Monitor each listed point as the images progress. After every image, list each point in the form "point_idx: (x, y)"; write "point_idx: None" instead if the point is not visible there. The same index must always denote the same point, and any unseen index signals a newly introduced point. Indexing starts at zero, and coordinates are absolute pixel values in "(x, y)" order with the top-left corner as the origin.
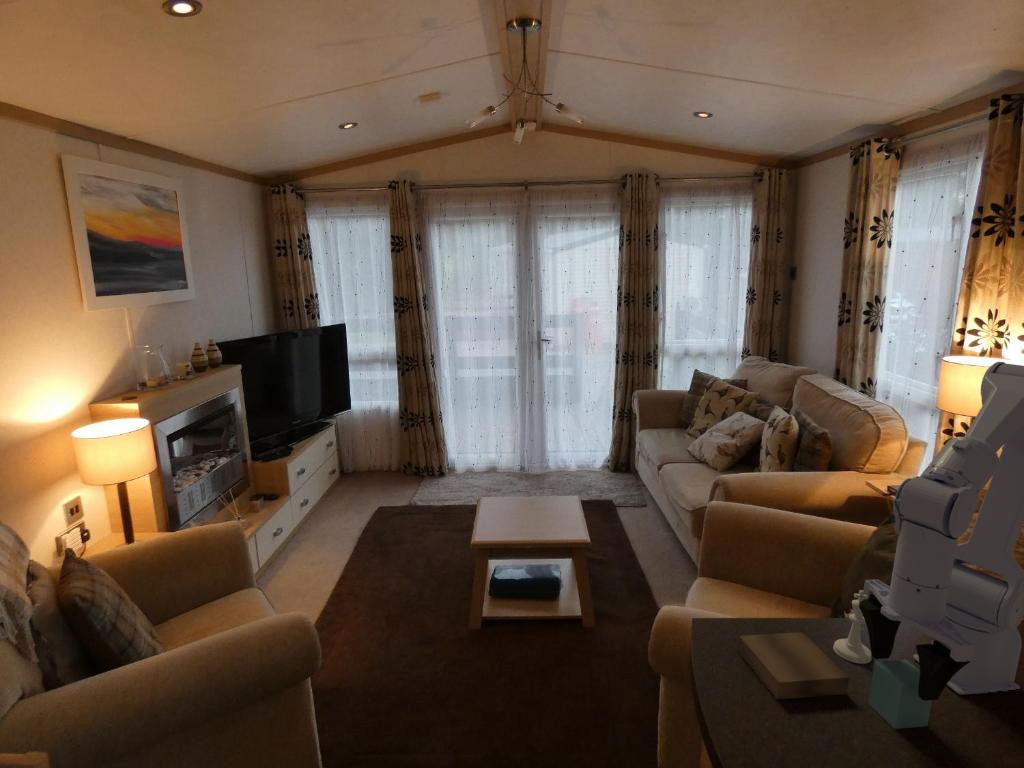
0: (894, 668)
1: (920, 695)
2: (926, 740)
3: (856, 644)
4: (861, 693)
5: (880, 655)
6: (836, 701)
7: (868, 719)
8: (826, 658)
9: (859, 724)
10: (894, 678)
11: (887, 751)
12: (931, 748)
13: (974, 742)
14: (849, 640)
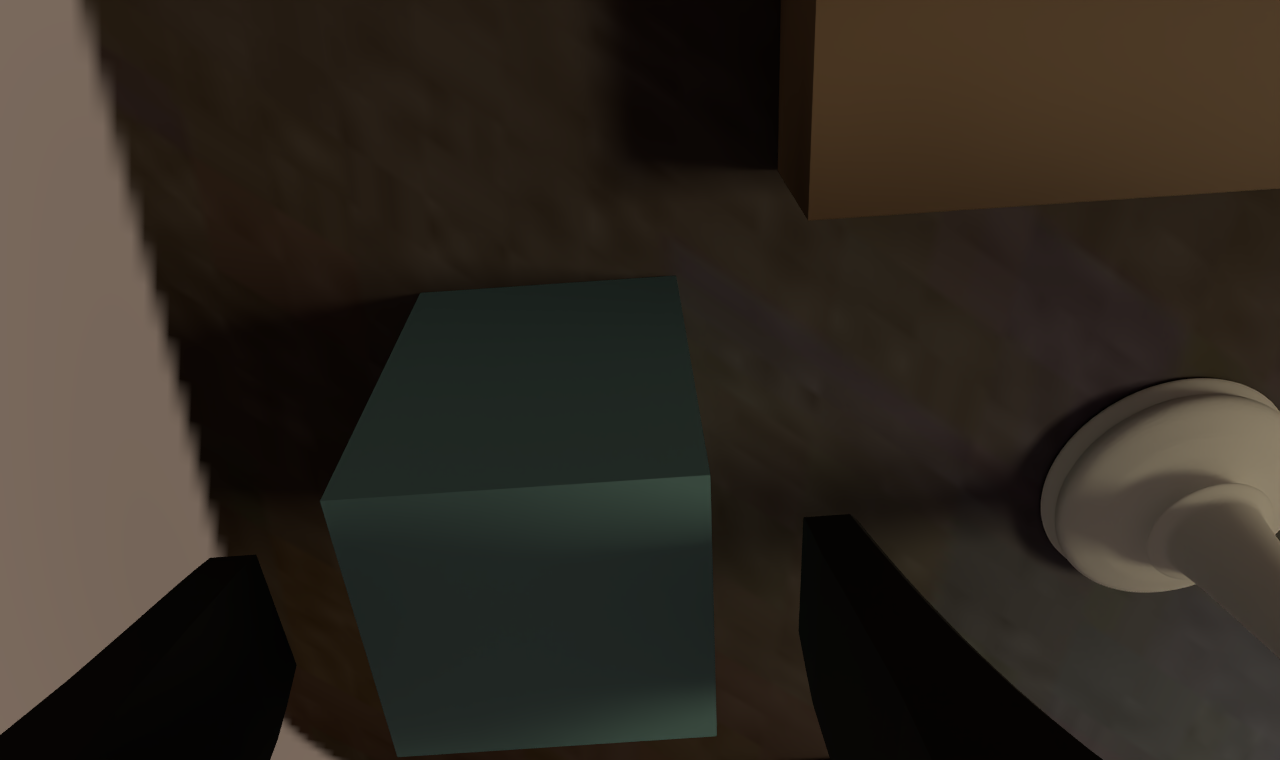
0: (594, 585)
1: (219, 571)
2: (334, 419)
3: (1179, 538)
4: (772, 290)
5: (810, 583)
6: (708, 27)
7: (505, 166)
8: (1094, 168)
9: (447, 55)
10: (433, 498)
11: (177, 92)
12: (267, 404)
13: (353, 637)
14: (1235, 517)
